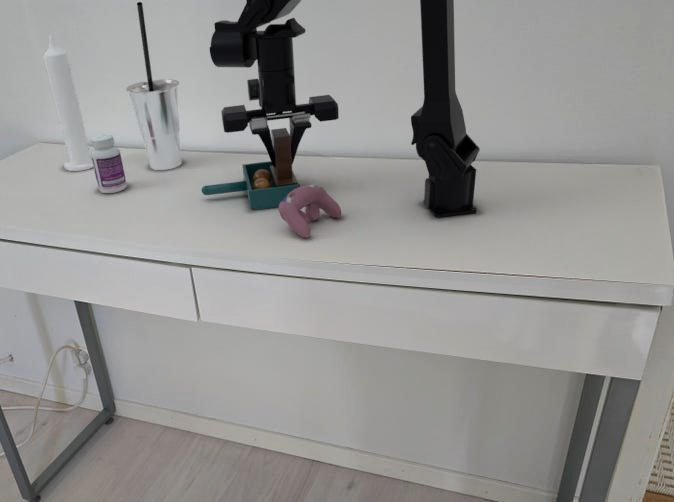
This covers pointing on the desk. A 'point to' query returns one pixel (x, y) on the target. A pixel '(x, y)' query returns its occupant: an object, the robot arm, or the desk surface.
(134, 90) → the tumbler with straw
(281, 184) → the brown thick angular block
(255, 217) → the desk surface
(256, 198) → the dustpan
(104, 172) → the pill bottle
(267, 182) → the ball near
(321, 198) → the video game controller
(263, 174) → the ball far
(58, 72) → the candle
